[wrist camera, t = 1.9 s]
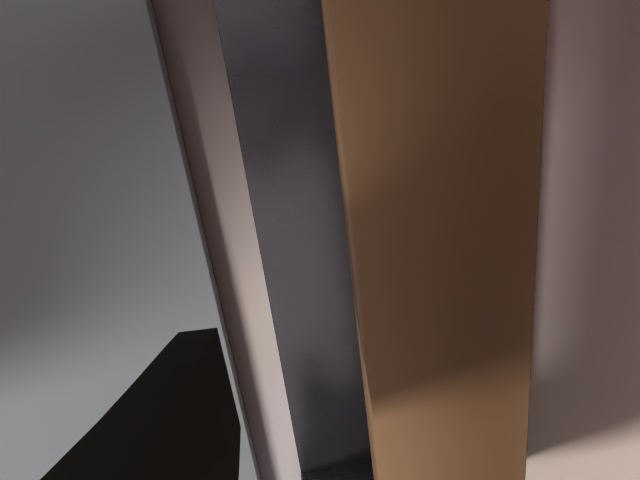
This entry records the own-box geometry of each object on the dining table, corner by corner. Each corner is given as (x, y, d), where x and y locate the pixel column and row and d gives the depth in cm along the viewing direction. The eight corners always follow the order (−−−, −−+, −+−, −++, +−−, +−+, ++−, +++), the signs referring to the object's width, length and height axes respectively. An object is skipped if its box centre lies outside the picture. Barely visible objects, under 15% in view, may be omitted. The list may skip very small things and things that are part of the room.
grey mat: (19, 584, 22) (13, 597, 21) (-549, -456, 10) (-590, -477, 9) (278, 553, 21) (277, 566, 21) (25, -542, 10) (12, -567, 9)
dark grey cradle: (307, 491, 20) (314, 753, 13) (160, -313, 11) (-65, -797, 4) (500, 468, 20) (606, 721, 13) (519, -364, 11) (909, -950, 4)
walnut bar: (393, 655, 16) (409, 766, 14) (242, -708, 6) (208, -1145, 4) (480, 645, 16) (511, 755, 14) (485, -745, 6) (608, -1207, 4)
